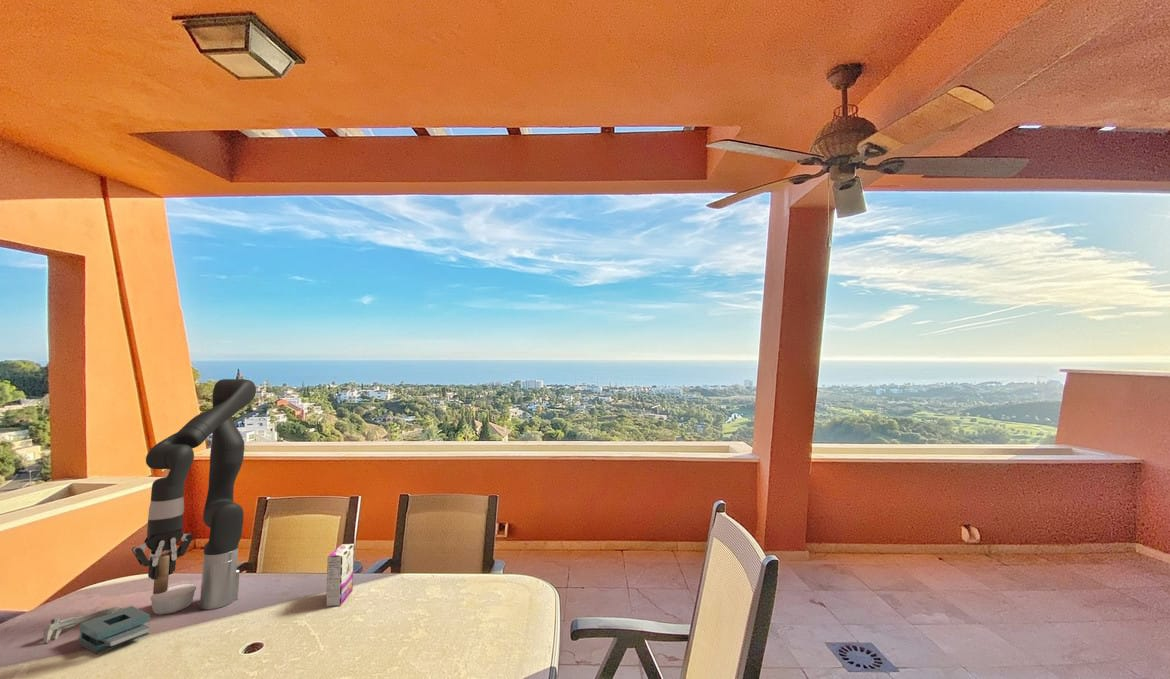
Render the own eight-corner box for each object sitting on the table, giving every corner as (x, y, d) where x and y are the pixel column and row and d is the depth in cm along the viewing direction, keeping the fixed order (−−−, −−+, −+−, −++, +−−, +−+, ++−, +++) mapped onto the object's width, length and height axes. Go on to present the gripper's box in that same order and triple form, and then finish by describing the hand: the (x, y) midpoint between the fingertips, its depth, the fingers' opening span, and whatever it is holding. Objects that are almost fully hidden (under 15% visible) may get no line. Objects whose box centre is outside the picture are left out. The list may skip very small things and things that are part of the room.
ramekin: (172, 599, 154) (173, 583, 155) (204, 599, 154) (205, 583, 154) (139, 616, 143) (140, 599, 143) (173, 617, 143) (174, 599, 143)
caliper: (46, 645, 128) (49, 621, 128) (43, 645, 128) (45, 621, 129) (122, 608, 148) (124, 588, 149) (119, 608, 148) (120, 588, 149)
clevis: (130, 624, 138) (131, 606, 138) (154, 637, 131) (156, 617, 132) (78, 643, 128) (80, 623, 129) (102, 658, 121) (104, 636, 122)
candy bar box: (337, 591, 160) (340, 543, 161) (352, 590, 160) (355, 543, 162) (324, 607, 149) (327, 556, 150) (340, 606, 149) (343, 555, 151)
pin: (164, 588, 130) (167, 552, 131) (169, 590, 129) (172, 554, 130) (150, 592, 128) (153, 556, 129) (156, 595, 126) (159, 558, 127)
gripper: (189, 506, 138) (184, 564, 137) (127, 519, 125) (122, 584, 124) (202, 509, 135) (197, 569, 133) (140, 523, 122) (135, 589, 121)
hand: (161, 576), depth 129 cm, fingers closed on pin, 3 cm apart
